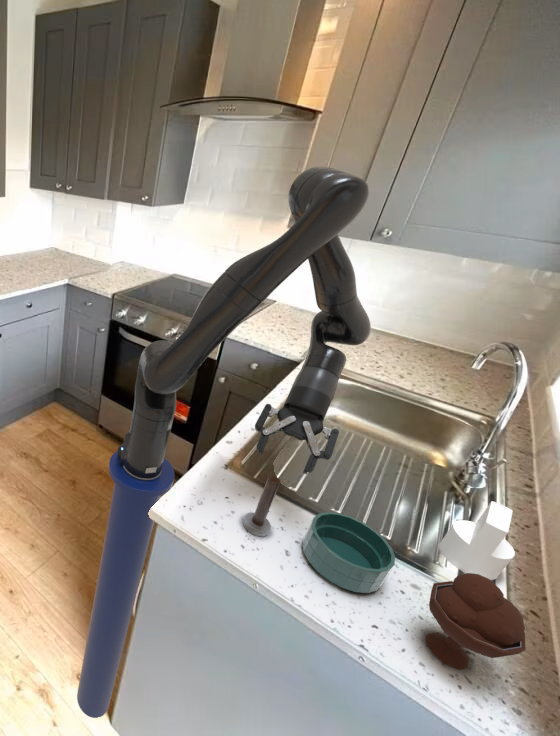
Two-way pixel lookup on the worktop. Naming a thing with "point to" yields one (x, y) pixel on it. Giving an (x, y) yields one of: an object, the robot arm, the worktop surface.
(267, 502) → the brown peg on base
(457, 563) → the base with upright slab
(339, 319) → the robot arm
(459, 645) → the ice cream bowl
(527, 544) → the worktop surface
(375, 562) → the mixing bowl
